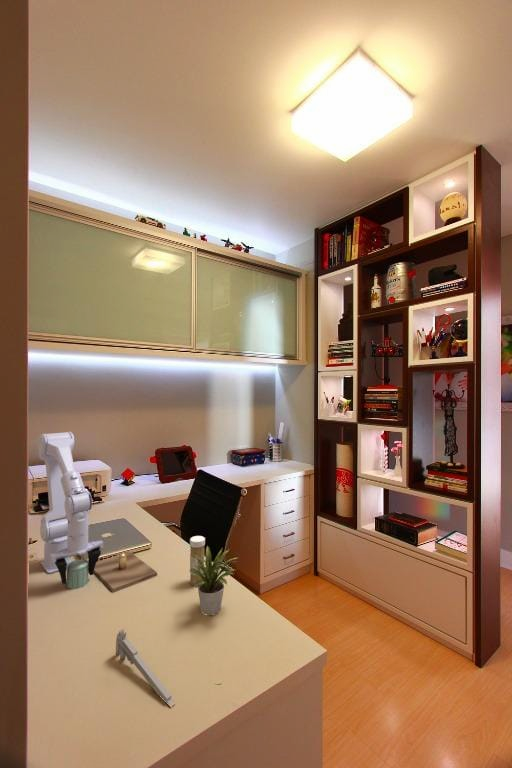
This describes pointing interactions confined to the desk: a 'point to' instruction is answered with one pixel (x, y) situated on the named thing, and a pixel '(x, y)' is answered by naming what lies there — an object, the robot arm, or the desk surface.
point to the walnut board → (123, 572)
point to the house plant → (211, 581)
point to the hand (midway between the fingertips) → (77, 578)
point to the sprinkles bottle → (197, 549)
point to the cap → (77, 574)
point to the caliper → (140, 665)
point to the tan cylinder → (122, 561)
